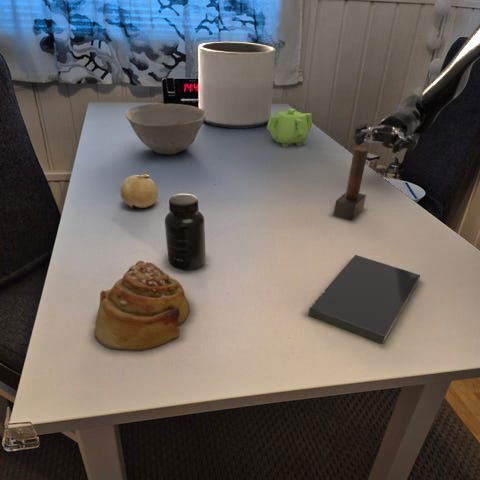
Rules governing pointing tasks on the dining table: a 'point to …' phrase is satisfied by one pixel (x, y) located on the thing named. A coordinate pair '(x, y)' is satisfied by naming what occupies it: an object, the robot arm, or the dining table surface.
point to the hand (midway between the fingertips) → (376, 144)
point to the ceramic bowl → (166, 126)
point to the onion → (139, 191)
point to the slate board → (365, 298)
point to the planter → (236, 83)
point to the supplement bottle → (185, 233)
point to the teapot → (289, 126)
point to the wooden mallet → (353, 188)
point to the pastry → (141, 309)
